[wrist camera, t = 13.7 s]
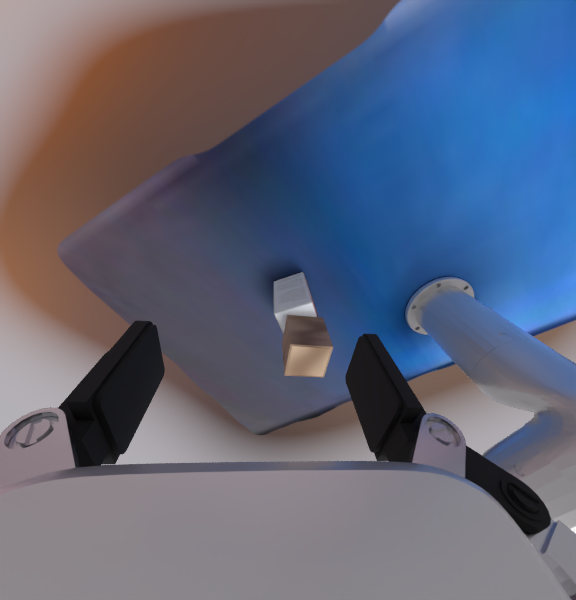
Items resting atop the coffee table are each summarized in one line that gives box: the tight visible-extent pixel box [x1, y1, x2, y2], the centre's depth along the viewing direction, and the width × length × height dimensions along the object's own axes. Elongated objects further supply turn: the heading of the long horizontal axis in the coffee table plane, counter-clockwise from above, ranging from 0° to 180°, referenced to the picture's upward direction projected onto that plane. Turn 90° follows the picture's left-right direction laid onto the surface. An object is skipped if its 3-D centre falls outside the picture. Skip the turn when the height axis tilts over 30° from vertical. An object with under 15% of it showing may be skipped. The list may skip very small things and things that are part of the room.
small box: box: [274, 272, 318, 334], centre depth 38 cm, size 8×6×10 cm
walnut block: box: [282, 315, 333, 377], centre depth 30 cm, size 5×5×6 cm
